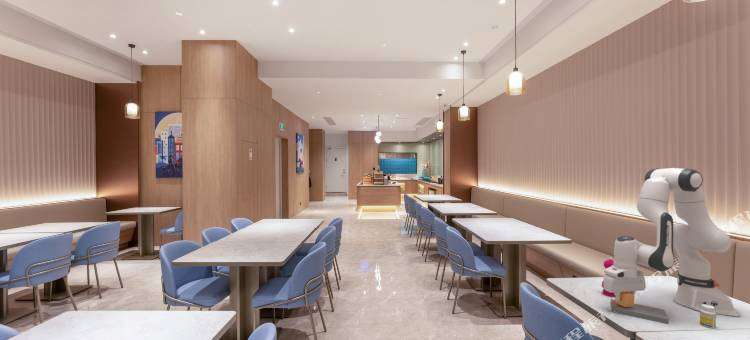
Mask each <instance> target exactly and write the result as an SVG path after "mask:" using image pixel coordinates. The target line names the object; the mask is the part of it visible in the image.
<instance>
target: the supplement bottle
mask: <svg viewBox="0 0 750 340" xmlns="http://www.w3.org/2000/svg"><path fill="white" fill-rule="evenodd" d="M701 308H702V309H700V311H699V324H700V325H701V326H703V327H704V328H705V327H706V328H709V329H715V328H716V326H717V325H716V322H717V321H716V318H717V314H716V313H715V312H714V311H715V308H714V307H713V306H710V305H705V304H702V305H701Z"/></svg>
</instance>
